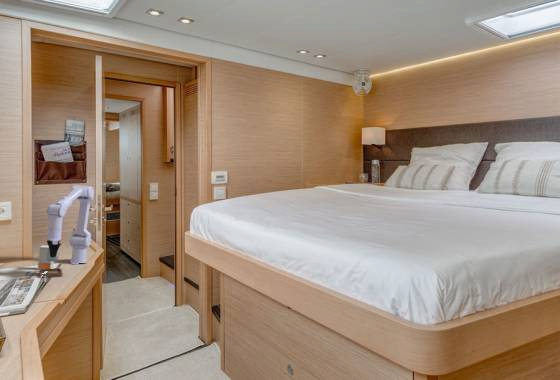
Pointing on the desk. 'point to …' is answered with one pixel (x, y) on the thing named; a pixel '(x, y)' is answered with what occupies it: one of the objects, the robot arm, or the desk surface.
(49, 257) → the cup
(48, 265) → the skincare box
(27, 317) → the desk surface
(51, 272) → the tray
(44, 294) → the desk surface
